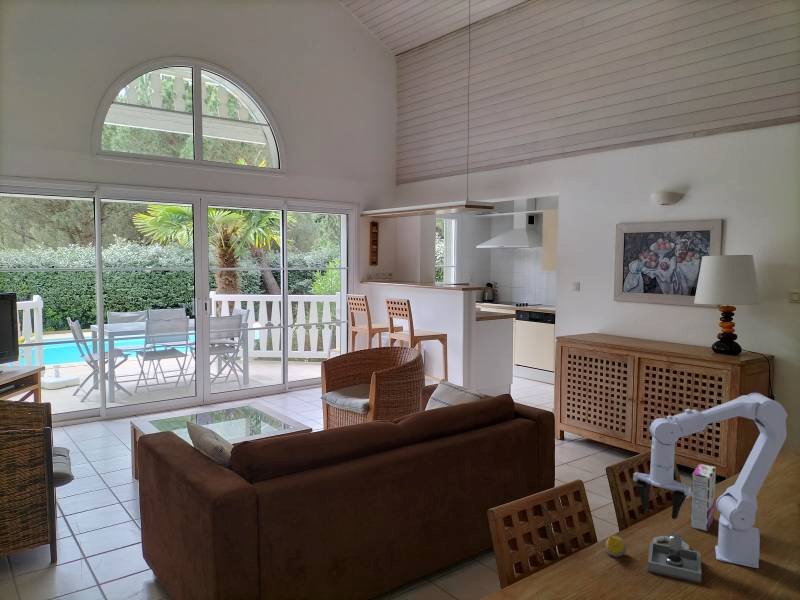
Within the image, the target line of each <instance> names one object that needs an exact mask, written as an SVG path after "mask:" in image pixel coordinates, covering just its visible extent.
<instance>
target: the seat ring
mask: <svg viewBox="0 0 800 600" xmlns="http://www.w3.org/2000/svg"><path fill="white" fill-rule="evenodd" d="M652 542H654V543H662V542H667V543H669V535H668V536H667V535H660V536H659V535H658V536H654V537H652ZM682 548H683V549H688V550H690V545H689V544H688V543H686V541H683V540H682Z"/></svg>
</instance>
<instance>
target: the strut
mask: <svg viewBox="0 0 800 600" xmlns="http://www.w3.org/2000/svg"><path fill="white" fill-rule="evenodd" d="M668 537H669V542H668V545H669V547H668V556H666V564H667V565H671V566H675V567H680V568H681V567H683V560H682V559H681V548H683V547H682V541H683V537H682V536H681V535H679V534H677V533H670V534H669V535H668Z"/></svg>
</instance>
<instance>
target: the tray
mask: <svg viewBox="0 0 800 600" xmlns="http://www.w3.org/2000/svg"><path fill="white" fill-rule="evenodd" d="M668 547H669V544H663V543H660V542H657V543H654V542H653V541H649V549H648V557H647V558H648V559H647V572H648V573H653V574H655V575H656V574H657V575H660V576H666V577H669V578H674V579H677V580H678V579H679V580H683V581H688V582H691V583H696V584H700V585H701V584H702V562H701V552H700V551H698V550H691V549H689V550H688V549H685V548H684V547H682V548H681V559H682V560H683V567H681V568H680V567H675V566H671V565H667V564H666V556H668Z"/></svg>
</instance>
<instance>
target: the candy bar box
mask: <svg viewBox="0 0 800 600" xmlns="http://www.w3.org/2000/svg"><path fill="white" fill-rule="evenodd" d="M716 469H717V468H716V466H712V465H707V464H703V463H698V465H697V467H696V468H695V470H694V471H693V472H692V474H691V504H690V505H691V506H690V528H692V529H696V530H700V531H705V532H709V529H710V528H711V525H712V523H714V522H713V521H714V520H715V505H716V504H715V503H716V502H715V501H716V496H715V495H716V477H717V475H716V474H717V473H716V472H717V470H716Z"/></svg>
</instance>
